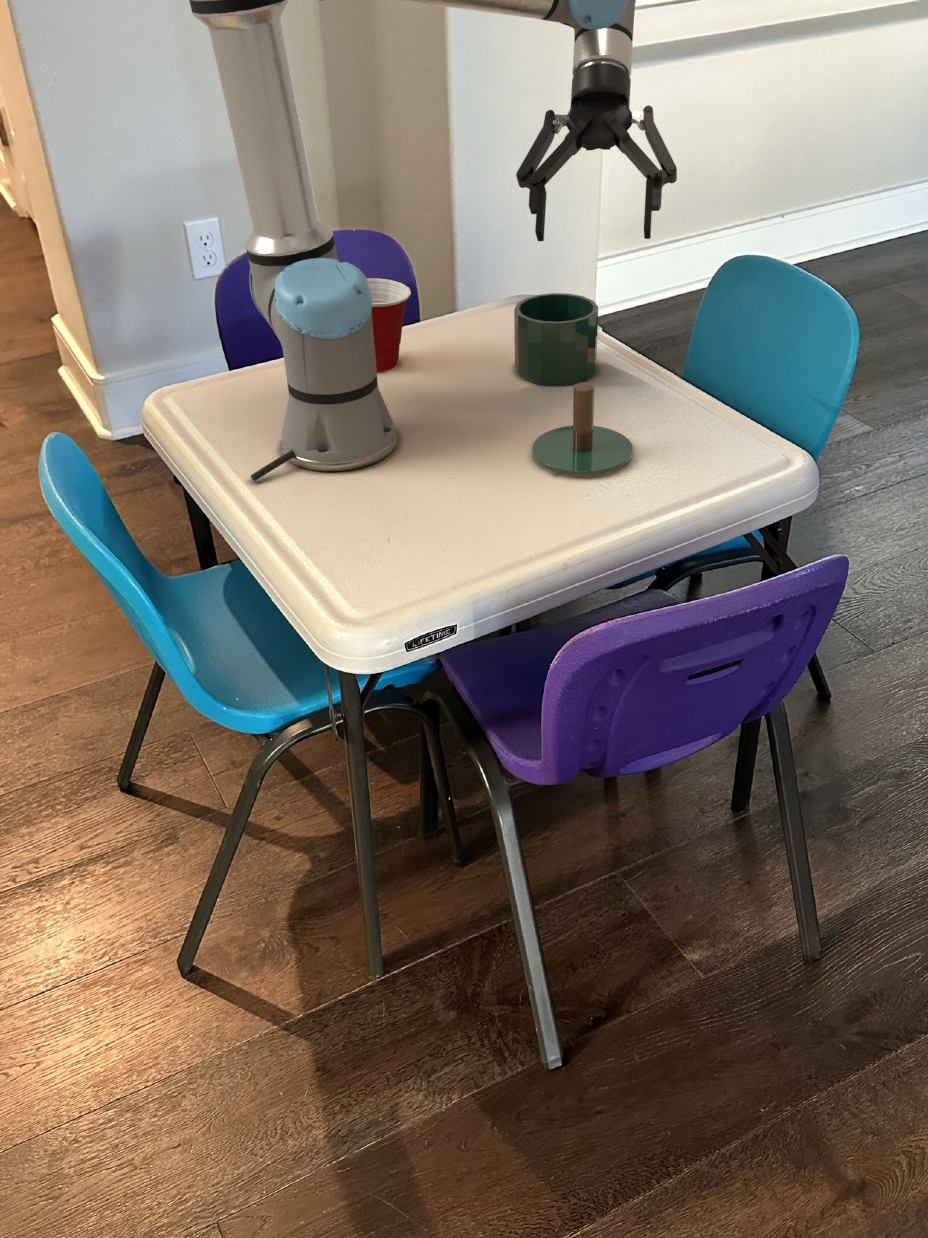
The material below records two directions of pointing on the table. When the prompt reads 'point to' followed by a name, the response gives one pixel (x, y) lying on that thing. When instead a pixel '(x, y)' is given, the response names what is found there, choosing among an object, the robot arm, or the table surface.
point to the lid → (582, 441)
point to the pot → (556, 338)
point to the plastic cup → (387, 319)
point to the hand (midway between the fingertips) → (592, 235)
